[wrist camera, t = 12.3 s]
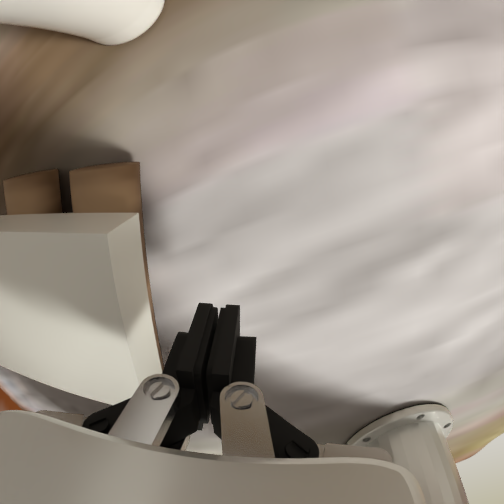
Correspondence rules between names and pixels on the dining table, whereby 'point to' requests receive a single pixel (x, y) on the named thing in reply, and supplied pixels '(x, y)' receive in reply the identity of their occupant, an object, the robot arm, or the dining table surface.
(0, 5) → the white cup
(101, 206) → the track
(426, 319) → the dining table surface
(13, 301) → the slab
